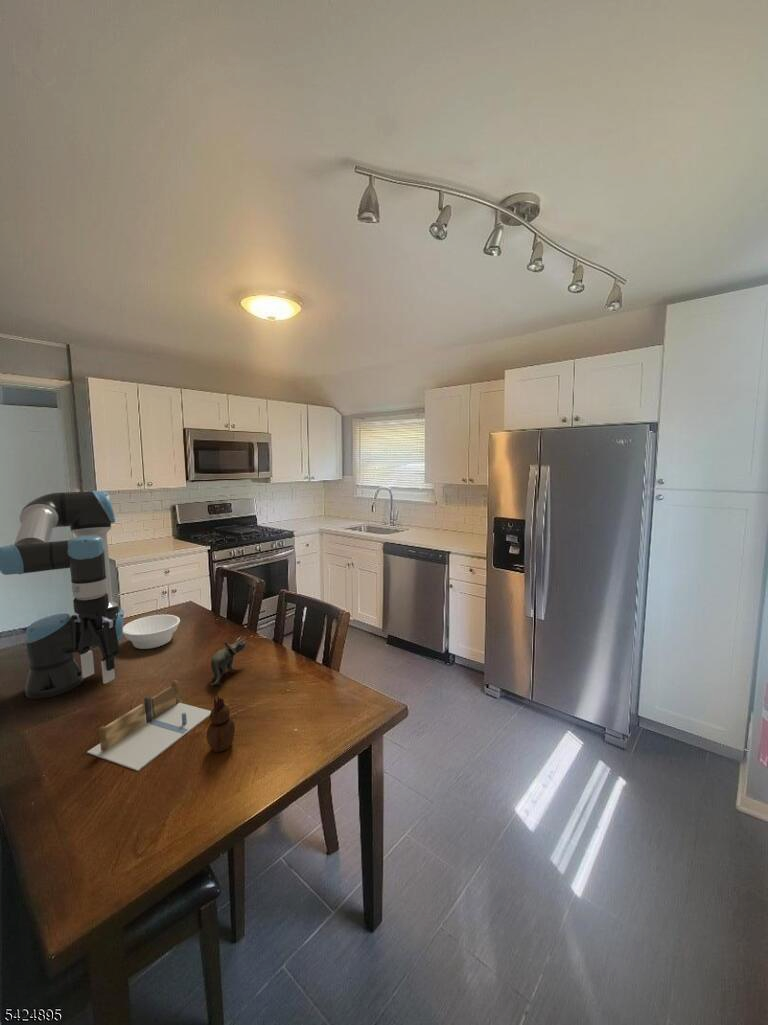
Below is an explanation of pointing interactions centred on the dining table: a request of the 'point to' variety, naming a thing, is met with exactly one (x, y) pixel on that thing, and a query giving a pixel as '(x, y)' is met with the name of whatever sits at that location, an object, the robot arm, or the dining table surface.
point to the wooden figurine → (220, 727)
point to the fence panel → (121, 727)
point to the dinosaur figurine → (225, 659)
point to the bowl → (151, 630)
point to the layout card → (153, 737)
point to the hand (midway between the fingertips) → (98, 678)
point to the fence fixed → (161, 701)
